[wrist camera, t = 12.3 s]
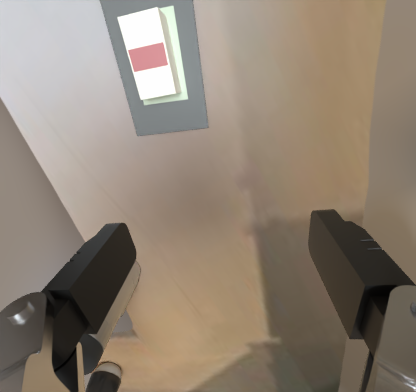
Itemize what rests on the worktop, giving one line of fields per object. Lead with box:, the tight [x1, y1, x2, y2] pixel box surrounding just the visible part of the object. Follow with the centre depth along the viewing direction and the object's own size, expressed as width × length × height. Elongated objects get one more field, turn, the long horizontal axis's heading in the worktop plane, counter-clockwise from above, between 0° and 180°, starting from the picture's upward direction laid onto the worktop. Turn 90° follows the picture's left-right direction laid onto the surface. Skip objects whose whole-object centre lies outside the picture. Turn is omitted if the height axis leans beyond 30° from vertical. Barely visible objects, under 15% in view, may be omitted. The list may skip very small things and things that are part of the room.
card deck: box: [117, 7, 182, 100], centre depth 28 cm, size 5×9×4 cm, turn 10°
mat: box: [100, 0, 208, 136], centre depth 31 cm, size 20×12×1 cm, turn 7°
